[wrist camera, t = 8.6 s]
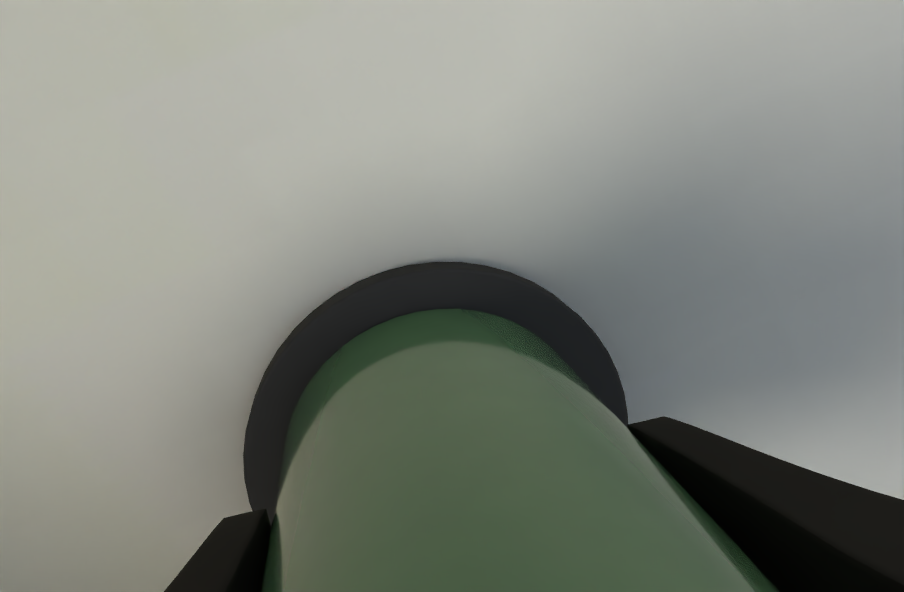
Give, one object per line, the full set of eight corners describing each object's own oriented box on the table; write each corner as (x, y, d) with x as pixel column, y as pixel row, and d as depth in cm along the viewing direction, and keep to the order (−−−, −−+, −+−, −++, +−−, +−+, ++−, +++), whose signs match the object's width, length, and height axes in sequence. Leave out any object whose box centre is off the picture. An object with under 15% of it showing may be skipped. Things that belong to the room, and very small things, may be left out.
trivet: (629, 553, 14) (642, 571, 13) (295, 638, 13) (293, 662, 12) (599, 227, 12) (613, 233, 11) (202, 304, 11) (194, 314, 10)
